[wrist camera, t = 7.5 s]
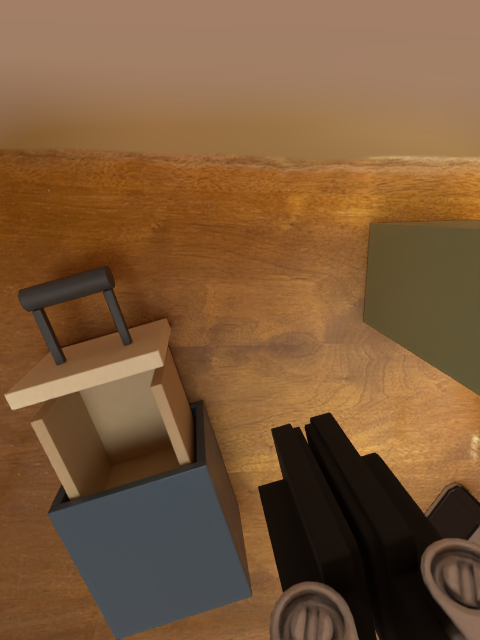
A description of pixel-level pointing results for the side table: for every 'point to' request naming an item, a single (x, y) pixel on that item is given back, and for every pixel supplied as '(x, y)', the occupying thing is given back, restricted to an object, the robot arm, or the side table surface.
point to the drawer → (105, 395)
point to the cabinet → (159, 541)
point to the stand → (428, 292)
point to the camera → (456, 514)
